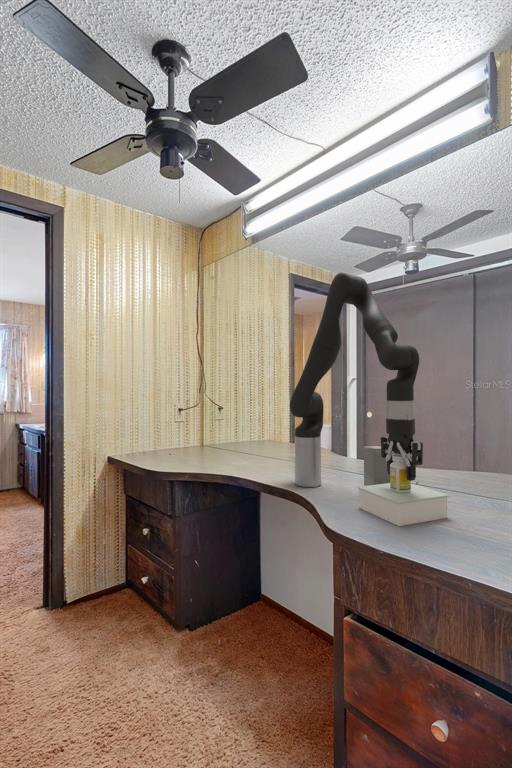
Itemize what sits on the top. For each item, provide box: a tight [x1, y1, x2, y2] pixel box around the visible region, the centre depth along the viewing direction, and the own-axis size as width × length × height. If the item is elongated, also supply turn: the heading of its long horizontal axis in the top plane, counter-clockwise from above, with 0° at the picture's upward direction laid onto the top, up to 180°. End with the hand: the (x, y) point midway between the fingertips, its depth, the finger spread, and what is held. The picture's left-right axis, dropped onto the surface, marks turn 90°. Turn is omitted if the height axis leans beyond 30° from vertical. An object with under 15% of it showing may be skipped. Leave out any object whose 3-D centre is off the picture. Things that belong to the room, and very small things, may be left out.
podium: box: [357, 483, 450, 527], centre depth 108 cm, size 17×17×6 cm
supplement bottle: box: [390, 454, 412, 493], centre depth 108 cm, size 5×5×10 cm
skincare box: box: [363, 445, 390, 486], centre depth 124 cm, size 8×7×16 cm
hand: (401, 477), depth 108 cm, fingers open, 7 cm apart
